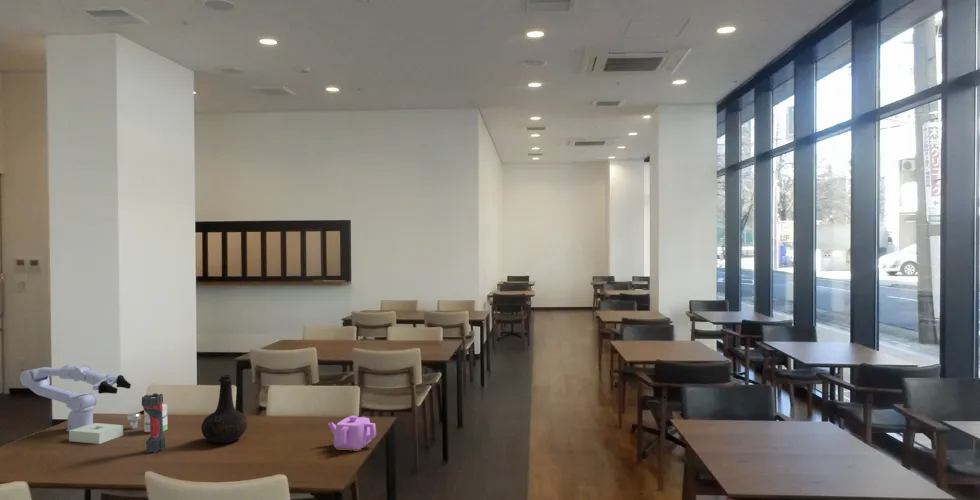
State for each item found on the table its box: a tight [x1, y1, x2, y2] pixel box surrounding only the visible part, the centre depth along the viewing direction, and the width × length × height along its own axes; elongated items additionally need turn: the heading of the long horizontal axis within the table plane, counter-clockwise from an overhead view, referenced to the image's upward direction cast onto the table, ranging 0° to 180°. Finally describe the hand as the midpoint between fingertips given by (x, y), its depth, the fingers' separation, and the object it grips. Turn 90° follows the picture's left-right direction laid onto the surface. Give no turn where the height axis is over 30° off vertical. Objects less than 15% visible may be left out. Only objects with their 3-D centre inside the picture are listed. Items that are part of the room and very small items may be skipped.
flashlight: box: [141, 393, 166, 454], centre depth 243 cm, size 8×8×23 cm
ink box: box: [143, 403, 169, 433], centre depth 271 cm, size 9×5×12 cm, turn 79°
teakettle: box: [327, 415, 377, 449], centre depth 249 cm, size 17×17×12 cm
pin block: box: [68, 422, 124, 445], centre depth 260 cm, size 16×12×4 cm
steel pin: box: [127, 412, 141, 430], centre depth 275 cm, size 5×5×6 cm
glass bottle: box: [201, 374, 248, 444], centre depth 257 cm, size 18×18×28 cm
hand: (123, 388), depth 270 cm, fingers open, 7 cm apart
